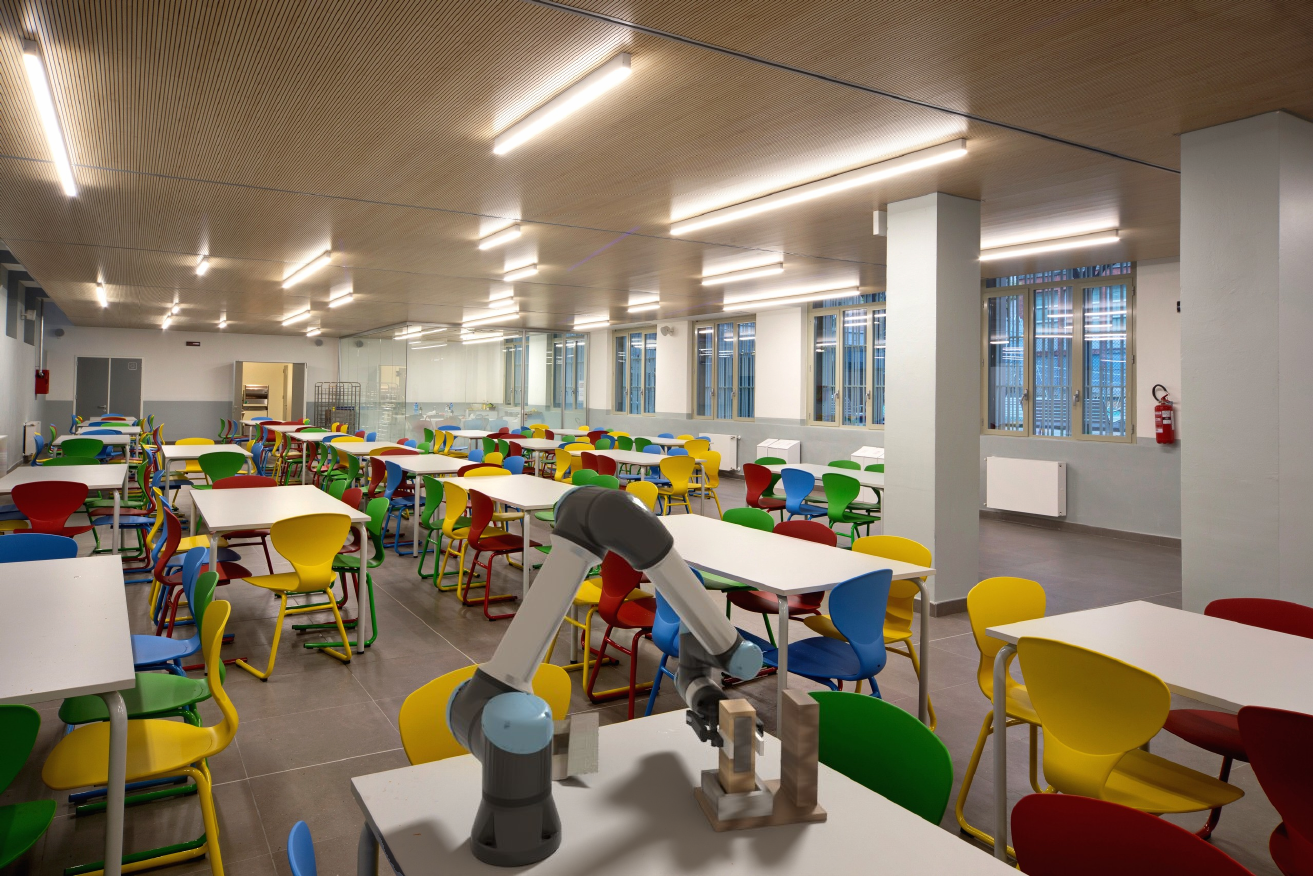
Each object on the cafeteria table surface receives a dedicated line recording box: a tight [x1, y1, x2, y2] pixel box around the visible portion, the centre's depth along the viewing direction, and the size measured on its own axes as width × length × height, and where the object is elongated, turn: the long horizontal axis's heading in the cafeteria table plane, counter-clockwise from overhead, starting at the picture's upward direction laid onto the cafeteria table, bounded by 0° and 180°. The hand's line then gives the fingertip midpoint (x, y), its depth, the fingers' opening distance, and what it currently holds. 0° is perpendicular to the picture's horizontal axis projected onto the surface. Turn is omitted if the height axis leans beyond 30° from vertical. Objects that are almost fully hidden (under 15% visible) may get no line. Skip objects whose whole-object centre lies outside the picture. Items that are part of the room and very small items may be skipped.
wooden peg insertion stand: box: [693, 688, 828, 833], centre depth 141 cm, size 21×14×20 cm, turn 103°
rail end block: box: [718, 698, 757, 794], centre depth 140 cm, size 5×6×15 cm
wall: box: [552, 711, 600, 782], centre depth 158 cm, size 16×9×15 cm
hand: (746, 749), depth 135 cm, fingers closed on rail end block, 5 cm apart
